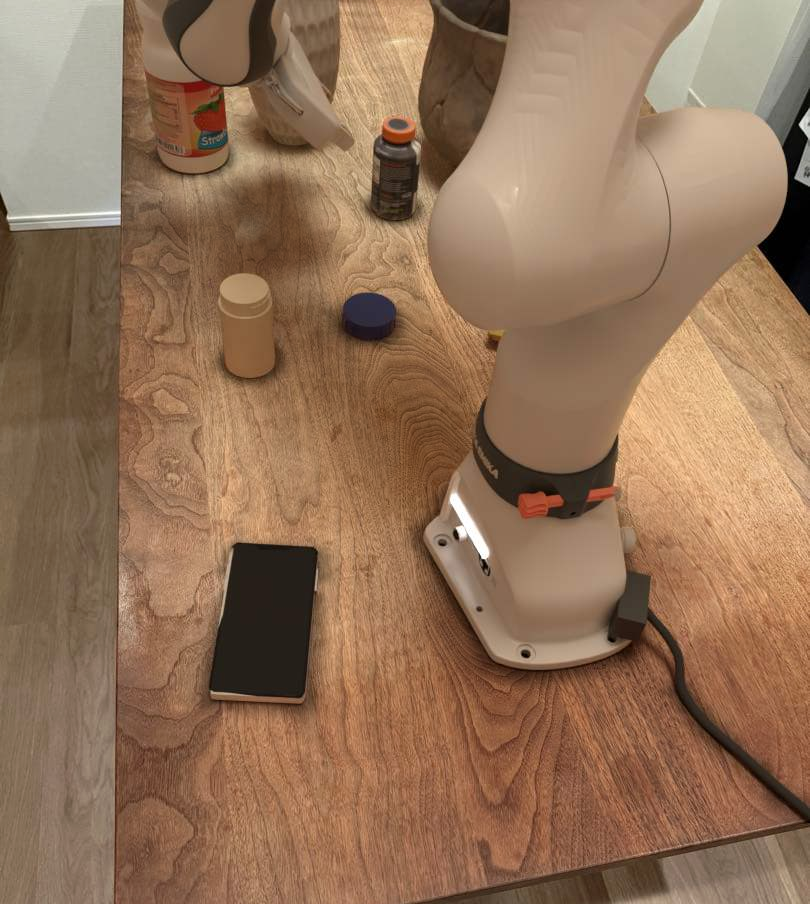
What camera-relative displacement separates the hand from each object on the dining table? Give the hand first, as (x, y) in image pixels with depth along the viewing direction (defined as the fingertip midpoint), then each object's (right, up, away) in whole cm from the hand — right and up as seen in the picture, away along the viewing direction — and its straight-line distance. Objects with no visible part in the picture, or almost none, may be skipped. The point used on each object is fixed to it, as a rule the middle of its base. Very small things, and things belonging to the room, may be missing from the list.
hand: (338, 122), depth 102 cm
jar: (-9, -29, -8) cm, 32 cm away
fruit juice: (-21, +3, +15) cm, 26 cm away
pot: (+21, +4, +20) cm, 29 cm away
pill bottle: (+6, -6, +12) cm, 14 cm away
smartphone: (-4, -56, -27) cm, 62 cm away
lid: (+4, -23, -3) cm, 24 cm away
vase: (-8, +8, +20) cm, 23 cm away
